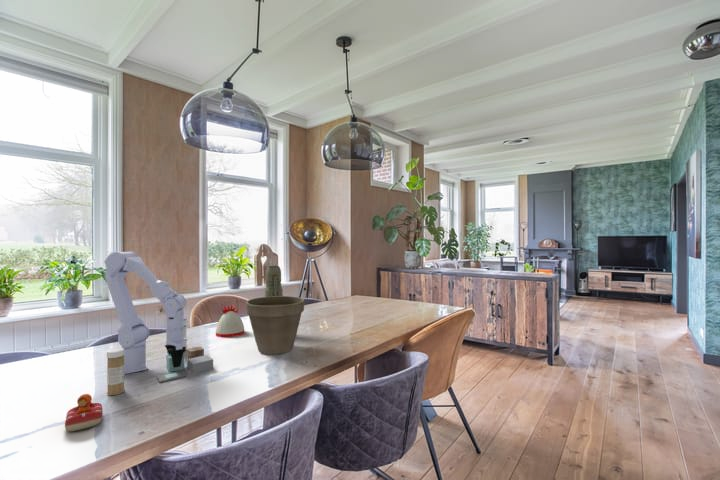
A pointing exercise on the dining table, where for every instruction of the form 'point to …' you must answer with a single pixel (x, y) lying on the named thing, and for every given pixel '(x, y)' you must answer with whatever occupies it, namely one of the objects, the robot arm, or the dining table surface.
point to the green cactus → (273, 282)
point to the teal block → (170, 364)
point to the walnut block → (195, 352)
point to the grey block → (200, 364)
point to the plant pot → (275, 322)
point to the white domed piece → (229, 324)
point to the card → (171, 376)
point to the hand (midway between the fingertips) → (175, 364)
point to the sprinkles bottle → (115, 371)
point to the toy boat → (83, 414)
